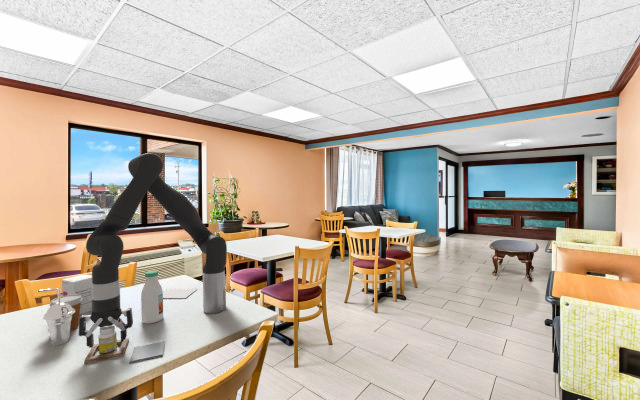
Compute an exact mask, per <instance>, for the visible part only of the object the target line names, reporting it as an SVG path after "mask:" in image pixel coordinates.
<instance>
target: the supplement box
mask: <svg viewBox="0 0 640 400" xmlns="http://www.w3.org/2000/svg"><path fill="white" fill-rule="evenodd" d="M61 289H62V290H61V295H62V296H66V295H74V294H77V295H81V298H82V301H81V306H80V314H79V316H80V315H84V314H86V313H88V312H92V297H91V290H92V274H91V275H89V274H79V275H76V276H70V277H67V278H63V279H61ZM62 296H61V297H62Z"/></svg>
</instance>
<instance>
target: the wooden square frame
mask: <svg viewBox="0 0 640 400" xmlns="http://www.w3.org/2000/svg"><path fill="white" fill-rule="evenodd" d="M129 340H130V339H129V338H128V337H126V339H125V340H124V341H123V342H121V339H117V347H118V346H120V347H119V348H118V351H117V350H116V351H115V352H112V353H107V354H102V355H100V354H98V355H96V354H97V352H98V351H99V343H94V345H93V347H92V348H90V350H89V352H88V353H87V355H86V357H85V359H84V360H83V362H84V365H88V364H92V363H93V364H94V363H95V362H97V363H98V362H102V361H106V360H111V359H116V358H121V357H124V354H125V353H126V349H127V346H128V344H129Z"/></svg>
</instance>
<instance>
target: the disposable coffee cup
mask: <svg viewBox="0 0 640 400" xmlns="http://www.w3.org/2000/svg"><path fill="white" fill-rule="evenodd" d="M60 297H61V302H64V303H68V304H70V305H71V307H72V308H74V309H75V313H74V314H73V315H72V320H71V326H70V332H72V331H74V330H76V329H79V319H80V315H81V314H80V306H81V301H82V298H81V295H77V294H74V295H66V296H60ZM56 303H58V297H55V298H54V299H51V300H50V303H49V308H50V307H51V306H52V305H54V304H56ZM79 314H80V315H79Z"/></svg>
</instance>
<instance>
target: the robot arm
mask: <svg viewBox="0 0 640 400" xmlns="http://www.w3.org/2000/svg"><path fill="white" fill-rule="evenodd" d="M127 169H128V172H129V174H130V176H131V177H132V179H131V180H130V182H129V184H128V185H127V186H126V188H125V189H124V190H123V191H122V192H121V194H120V195H118V197H117V198H116V199H115V201H114V202H113V204H112V205H111V207H110V209H109V211H108V213H107V215H106V216H105V219H104V220H103V221H102V222H100V224H99V225H98V226H96V228H95V229H94V231H92V233H91V234H89V236H88V237H87V240H86V242H85V243H86V244H85V248H86V252H87V253H89V254H90V255H92V256H100V257H101V258H100V262H99V263H96V264H95V265H93V266H92V270H91V276H92V290H91V297H92V311H91V314H81V316H79V322H78V336H79V337H85V338H86V346H87V347H88V348H90V349H91V348H92V347H93V345H94V344H95V343H94V341H95V340H94V339H95V338H94V331H95V330H96V329H97V328H98V327H99V329H100V328H101V327H105V326H112V325H115V328H119V329H120V340H121V342H123V341H124V340H125V339H127V338H128V337H127V336H128V332H127V330H128V329H131V328H132V327H133V323H134V320H133V318H134V317H133V309H132V307H128V308H127V309H123V310H122V308H121V284H120V273H119V272H120V271H119V267H120V263H121V262H122V261H121V260H122V257H123V253H124V245H125V244H124V242H123V239H122V238H121V237H120V236H119V235H117V234H118V233H119V232H122V231H125V230H127V229H128V228H129V225H130V224H131V222H132V219H133V218H134V216H135V214H136V212H137V210H138V208H139V206H140V204H141V202H142V200H143V199H144V197H145V195H146V194H147V192H149V193H150V195H152V196H153V197H154V199H155V200H156V201H157V202H158V203H159V205H161V207H162V208H164V210H165V211H166V212H167V213H168V214H169V216H170V217H171V218H172V219H173V220H174V221H175V222H176V223H177V224H178V226H180V228H182V229H183V230H184V231H185V232H186V233H187V234H188V235H189V236H190V237H191V239H193V241H194V243H195V244H196V245H197V247H198V249H199V250H200V252H202V254H204V255H205V264H203V266H202V303H203V304H202V307H203V309H202V310H203V312H204V313H206V314H217V313H220V311H221V312H223V311H226V310H227V296H226V295H227V293H226V292H227V288H226V276H225V274H226V273H225V272H226V270H225V269H226V265H227V259H228V258H227V255H228V254H227V251H228V250H227V249H228V246H227V241H226V240H225V238H224V237H222V236H219V235H216V234H214V233H212V231H211V230H209V229H208V227H206V225H205V224H204V222H203V221H202V219H201V216H200V213H199V212H198V209H197V208H196V207H195V205H193V204H192V202H191V201H190V199H188V198H187V197H186V196H185V195H184V194H183V193H181V192H180V191H178V190H176V189H175V188H173V187H172V186H170V185H168V184H167V183H166V181H164V180H163V178H162V177H161V176H160V175H161V173H162V172H163V169H164V163H163V160H162V159H161V158H160V156H158V154H155V153H153V152H147V153H143V154H139V155H138V156H136V157H133V158H132V159H131V160H129V162H128V166H127ZM225 309H226V310H225ZM222 310H223V311H222ZM122 315H123V316H124V317H125V318H126V323H125V322H124V321H123V319H122V318H121V317H122ZM89 320H91V322H92V323H94V324H92V326H91V327H90V328H89V329H87V323H88V322H89Z"/></svg>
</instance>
